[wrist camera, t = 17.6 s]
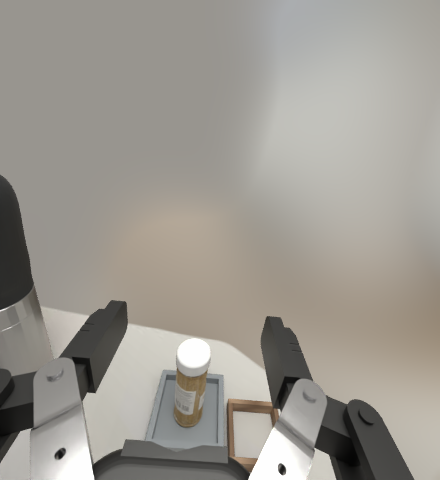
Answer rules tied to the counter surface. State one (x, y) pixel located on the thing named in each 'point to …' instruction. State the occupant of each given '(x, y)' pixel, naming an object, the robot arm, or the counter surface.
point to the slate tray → (182, 438)
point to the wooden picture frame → (246, 407)
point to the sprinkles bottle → (191, 381)
